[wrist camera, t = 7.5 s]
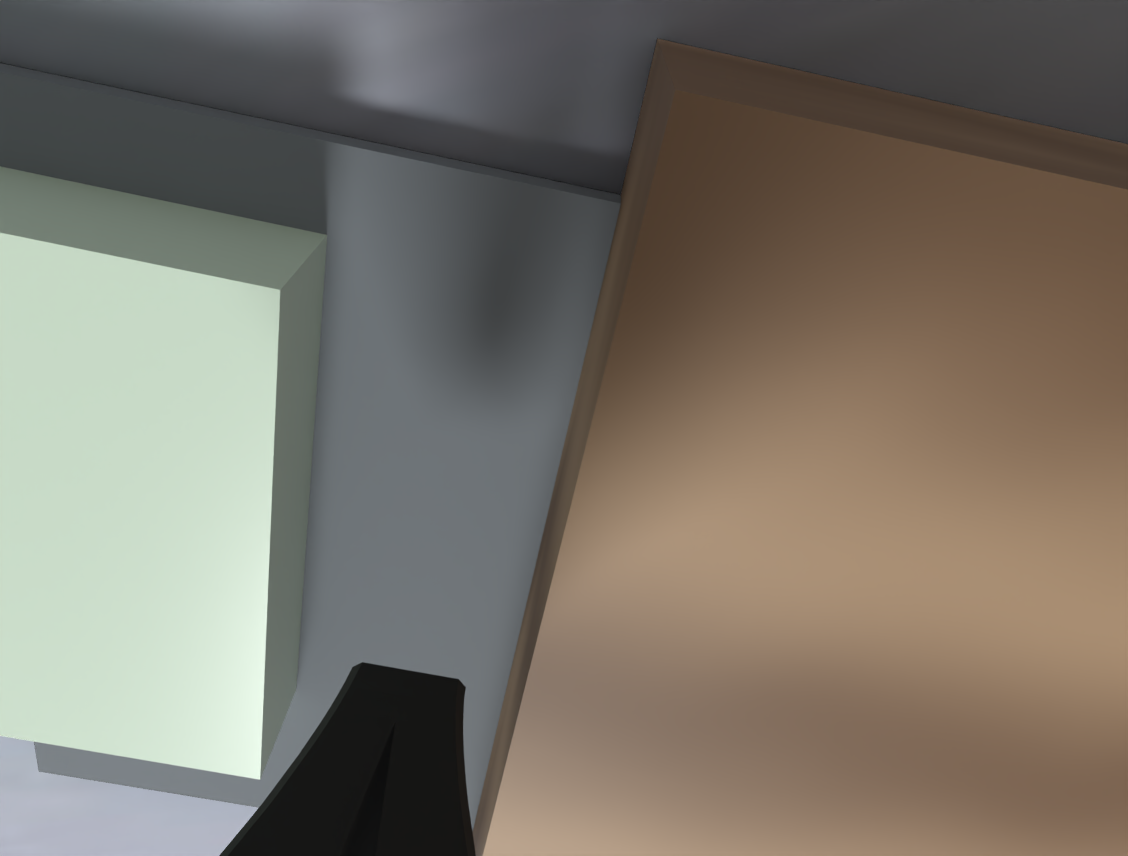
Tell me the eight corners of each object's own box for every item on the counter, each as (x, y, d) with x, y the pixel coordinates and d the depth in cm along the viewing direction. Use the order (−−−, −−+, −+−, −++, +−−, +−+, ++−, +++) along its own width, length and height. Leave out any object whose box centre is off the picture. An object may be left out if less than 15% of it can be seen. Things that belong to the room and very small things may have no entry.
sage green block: (-107, 718, 15) (-31, 631, 16) (260, 779, 15) (295, 689, 17) (-253, 180, 10) (-126, 140, 12) (280, 289, 10) (327, 235, 12)
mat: (472, 825, 19) (470, 841, 19) (49, 755, 19) (38, 770, 18) (620, 195, 12) (620, 203, 12) (-59, 50, 11) (-80, 54, 11)
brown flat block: (1083, 925, 20) (1166, 1106, 17) (472, 825, 19) (446, 997, 16) (1671, 266, 12) (2030, 389, 9) (657, 37, 11) (674, 89, 8)
